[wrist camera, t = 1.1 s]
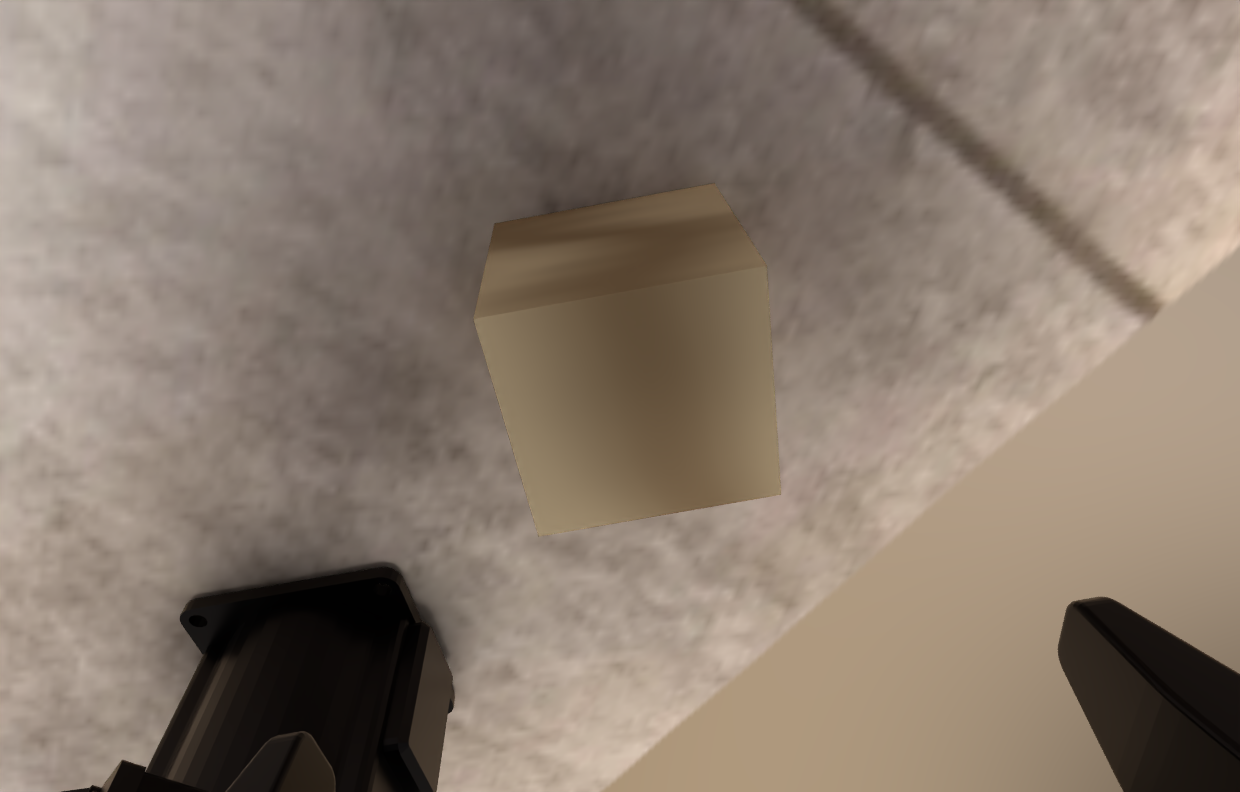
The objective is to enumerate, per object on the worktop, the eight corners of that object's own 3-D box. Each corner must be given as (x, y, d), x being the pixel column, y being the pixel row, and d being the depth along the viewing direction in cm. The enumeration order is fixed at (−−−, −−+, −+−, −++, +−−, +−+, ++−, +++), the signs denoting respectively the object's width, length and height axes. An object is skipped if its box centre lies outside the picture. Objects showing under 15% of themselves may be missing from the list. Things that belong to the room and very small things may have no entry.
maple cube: (542, 405, 19) (538, 536, 15) (494, 222, 17) (473, 318, 13) (732, 372, 19) (781, 494, 15) (713, 182, 17) (766, 265, 12)
